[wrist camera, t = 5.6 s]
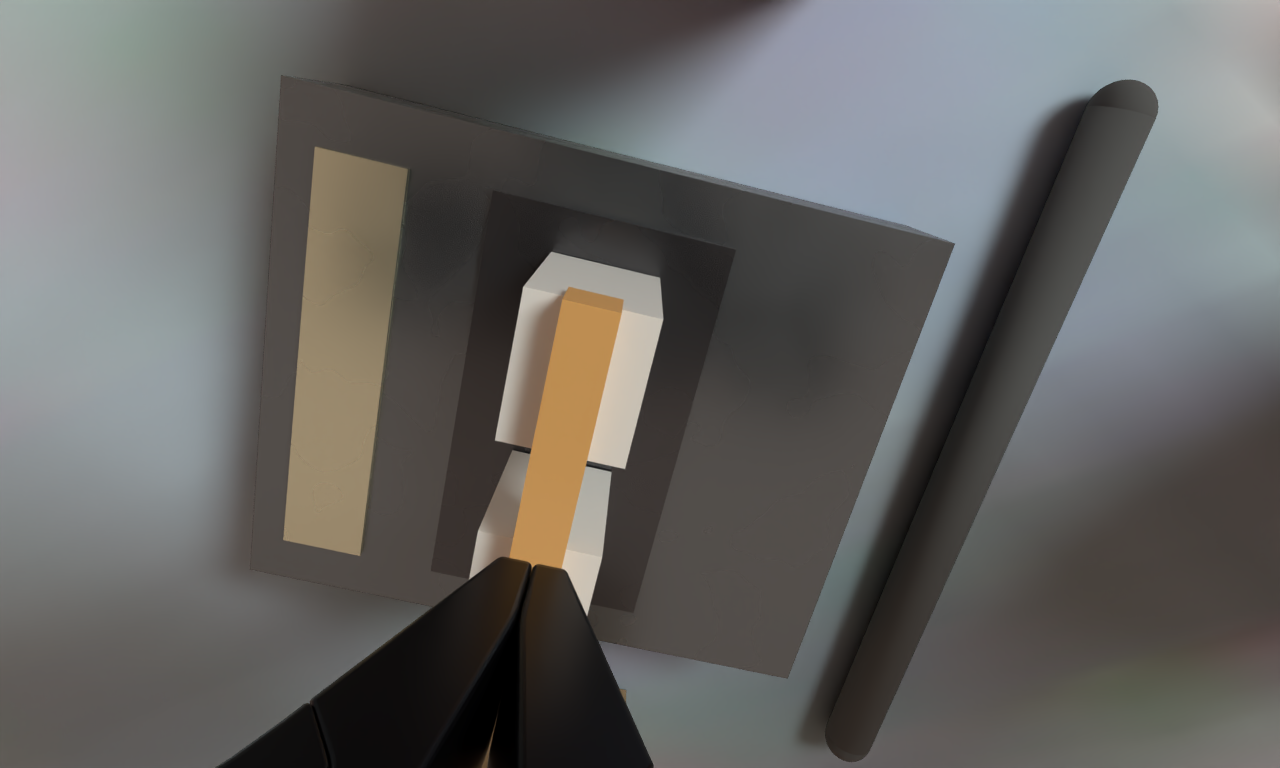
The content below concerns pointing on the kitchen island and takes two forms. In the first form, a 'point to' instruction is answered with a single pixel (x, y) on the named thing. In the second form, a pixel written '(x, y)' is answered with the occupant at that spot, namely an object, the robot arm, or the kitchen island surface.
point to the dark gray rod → (994, 401)
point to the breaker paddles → (569, 413)
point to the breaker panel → (481, 348)
